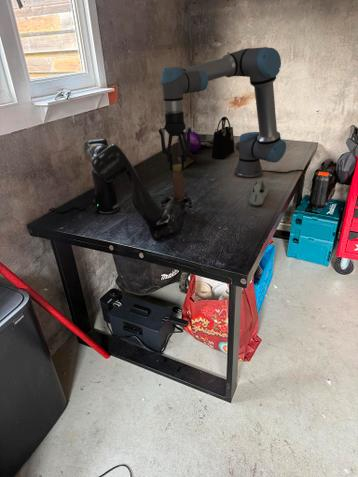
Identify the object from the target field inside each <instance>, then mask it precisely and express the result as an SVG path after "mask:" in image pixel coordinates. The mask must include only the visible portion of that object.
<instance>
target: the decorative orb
mask: <svg viewBox="0 0 358 477" xmlns="http://www.w3.org/2000/svg"><path fill="white" fill-rule="evenodd" d="M184 132H185V135H186V140H187V133H186V131H184ZM201 140H202V139H201V137H200V135H199V134H198V133H197V132H195V131H192V130H191V133H190V152H191V153H192V154H194V153H196V152H197V151H198V150H199V149H201V148H200V145H201Z"/></svg>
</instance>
